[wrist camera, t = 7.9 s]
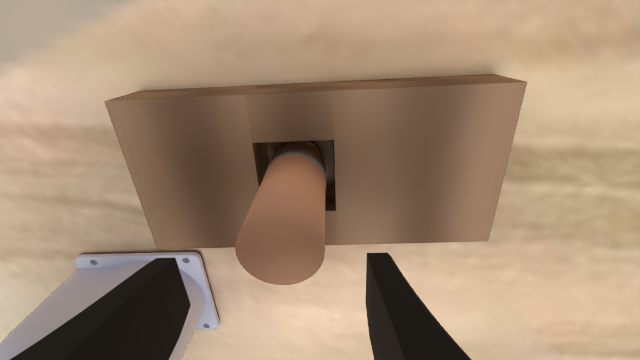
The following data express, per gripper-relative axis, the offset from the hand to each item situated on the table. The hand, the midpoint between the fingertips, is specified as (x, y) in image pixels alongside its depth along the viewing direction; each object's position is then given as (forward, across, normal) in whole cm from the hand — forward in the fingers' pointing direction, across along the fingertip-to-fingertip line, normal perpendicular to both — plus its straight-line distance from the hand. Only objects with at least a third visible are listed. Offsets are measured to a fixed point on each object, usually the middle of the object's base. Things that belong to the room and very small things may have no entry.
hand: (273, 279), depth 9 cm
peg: (+10, 0, 0) cm, 10 cm away
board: (+10, -1, 0) cm, 10 cm away
